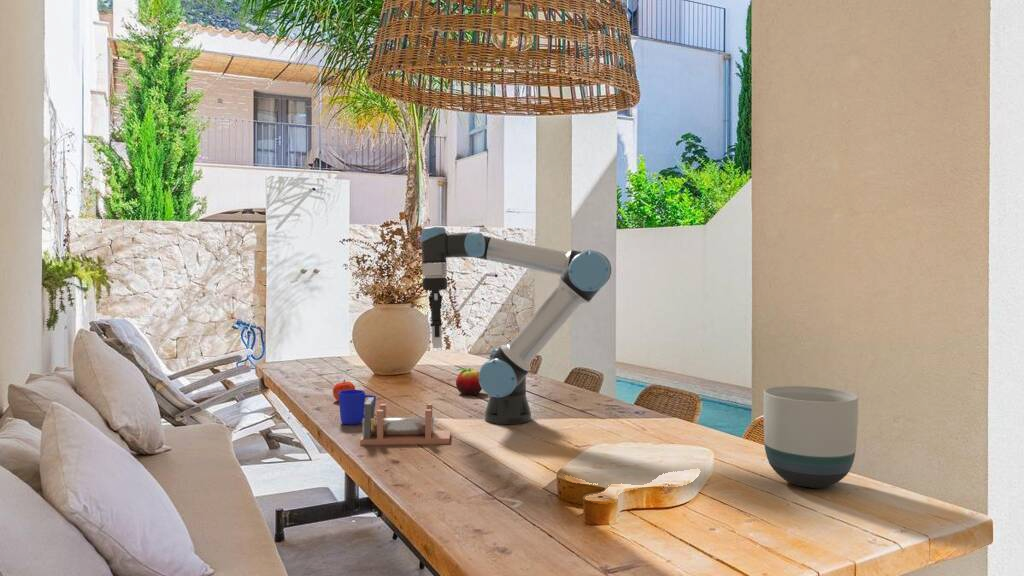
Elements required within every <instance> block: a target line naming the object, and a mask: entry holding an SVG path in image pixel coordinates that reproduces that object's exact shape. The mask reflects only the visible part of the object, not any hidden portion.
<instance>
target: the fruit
mask: <svg viewBox="0 0 1024 576" xmlns="http://www.w3.org/2000/svg"><path fill="white" fill-rule="evenodd" d="M456 371H460V372H459V374H458V375H457V377H456V379H455V385H456V389H457V391H458V392H459V393H460V394H462V395H465V396H474V395H478V394H480V393H481V391H483V389H482V388H481V386H480V383H479V372H480V371H479V370H476V369H471V368H468V369H467V368H461V367H460V368H457V369H456Z"/></svg>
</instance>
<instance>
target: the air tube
mask: <svg viewBox="0 0 1024 576" xmlns="http://www.w3.org/2000/svg"><path fill="white" fill-rule="evenodd" d="M434 422H435V420H434V417H432V418H431V435H433V434H434V429H435V427H434V426H435V423H434ZM361 423H362V424H361V425H362V427H361V431H362V432H361V433H362V434H361V435H363V436H364V418H363V420H362V422H361ZM405 435H425V417H386V418H383V436H405ZM371 436H377V417H374V418H371Z"/></svg>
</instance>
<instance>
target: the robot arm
mask: <svg viewBox="0 0 1024 576" xmlns="http://www.w3.org/2000/svg"><path fill="white" fill-rule="evenodd" d="M420 243H421V265H422V266H420V271H422V277H424V278H422V289H423V290H424V291H430V295H428V302H429V308H430V313H431V314H430V316H431V317H430V321H431V323H430V324H429V325H430V326H429V327H431V344H432V348H433V349H441V348H443V343H442V342H443V340H442V339H443V337H442V336H443V335H442V324H443V323H442V314H441V313H442V311H441V310H442V302H443V296H442V295H441V293H440V291H442V290H443V291H444V290H447V289H448V278H447V277H446V276H447V275H448V268H447V267H448V265H447V264H448V263H447V258H473V259H474V258H476V259H480V260H483V261H484V260H485V261H491V262H494V263H500V264H505V265H509V266H516V267H518V268H519V267H520V268H522V269H523V268H525V269H528V270H535V271H538V272H545V273H549V274H554V275H557V276H558V275H559V277H558V282H559V283H558V286H557V287H556V288H555V289H554V290H553V292H551V294H550V295H549V297H547V299H546V300H545V301H544V302H543V303H542V305H541V306H540V307H539V308H538V309H537V311H536V312H535V313H534V314H533V315H532V317H530V319H528V321H527V322H526V323H525V325H524V326H522V328H521V329H520V331H519V332H518V333H517V334H516V335H515V336H514V338H513V339H512V340H511V341H510V342H509V343H508V344H501V345H500V346H499V348H498V349H497V348H496V349H495V348H493V349H491V350H490V353H489V359H488V360H486V362H484V363H483V364H482V365H481V367H480V370H479V371H478V372H479V383H480V386H481V388H482V391H483V392H484V393H486V395H488V396H489V399H488V402H487V405H486V408H485V411H484V420H485V421H486V422H487V423H488V422H489V423H491V424H498V425H517V424H518V425H520V424H524V423H529V422H531V421H532V411H531V408H530V405H529V402H528V398H527V375H528V373H530V371H531V363H532V361H533V360H534V359H535V358H536V356H537V355H538V354H539V353H540V352H541V350H543V348H544V347H545V346H546V345H547V344H548V343H549V342H550V340H551V339H553V337H554V335H556V334H557V332H558V331H559V330H560V329H561V327H562V326H563V325H564V324H565V323H566V321H567V320H568V319H569V318H570V317H571V316H572V315H573V314H574V312H575V311H576V310H577V309H578V307H580V306H581V304H586V303H590V302H591V300H592V299H593V298H594V297H595V296H596V294H597V293H598V292H599V291H600V290H601V289H602V288H603V287H604V286H605V285H606V284H607V282H608V281H609V280H610V278H611V275H612V265H611V262H610V260H609V259H608V257H606V256H605V255H604V254H603V253H601V252H599V251H597V250H583V251H578V250H574V249H571V250H569V251H564V250H563V251H562V250H558V249H553V248H548V247H542V246H538V245H533V244H527V243H523V242H518V241H512V240H507V239H502V238H496V237H491V236H488V235H484V234H483V233H482V232H475V231H473V232H472V231H469V232H456V233H455V232H453V233H450V232H447V231H446V228H445V227H443V226H434V227H433V226H430V227H429V226H428V227H424V228H423V229H422V230H421V242H420Z"/></svg>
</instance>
